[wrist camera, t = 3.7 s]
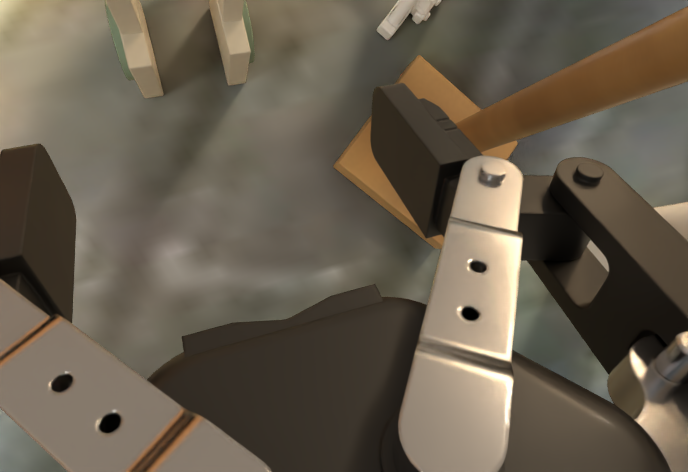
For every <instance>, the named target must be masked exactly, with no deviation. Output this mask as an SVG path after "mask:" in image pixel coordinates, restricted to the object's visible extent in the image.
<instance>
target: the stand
mask: <svg viewBox="0 0 688 472" xmlns="http://www.w3.org/2000/svg"><path fill="white" fill-rule="evenodd" d="M687 81H688V6H687V7H685V8H683V9H681V10H679V11H677V12H675V13H673V14H671V15H669V16H667V17H665V18H663V19H661V20H659V21H657V22H655V23H653V24H651V25H649V26H647V27H645V28H643V29H642V30H640V31H638V32H636V33H634V34H632V35H630V36H628V37H626V38H624V39H622V40H620V41H618V42H616V43H614V44H612V45H610V46H608V47H606V48H604V49H602V50H600V51H598V52H596V53H594V54H592V55H590V56H588V57H586V58H584V59H582V60H580V61H578V62H576V63H574V64H572V65H570V66H568V67H566V68H564V69H562V70H560V71H558V72H556V73H554V74H552V75H550V76H548V77H546V78H544V79H542V80H540V81H538V82H536V83H534V84H532V85H531V86H529V87H527V88H525V89H523V90H521V91H519V92H517V93H515V94H513V95H511V96H509V97H507V98H505V99H503V100H501V101H499V102H497V103H495V104H493V105H491V106H489V107H487V108H485V109H483V110H481V109H480V108H479V107H477V106H476V105H475V104H474V103H473V102H472V101H471V100H470V99H468V98H467V97H466V96H465V95H464V94H463V93H462V92H461V91H460V90H458V89H457V88H456V87H455V86H454V85H453V84H452V83H451V82H449V81H448V80H447V79H446V78H445V77H444V76H443V75H442V74H440V73H439V72H438V71H437V70H436V69H435V68H434V67H433V66H431V65H430V64H429V63H428V62H427V61H426V60H425V59H424V58H423V57H421V56H420V55H418V56H417V57H416V58H415V59H414V60H413V61H412V62H411V63H410V64H409V65H408V67H407V68H406V69H405V71H404V72H403V73H402V75H401V76H400V77H399V79H398V80H397V81H396V83H395V84H398V83H404V84H406V86H407V87H408V88H409V89H410V90H411V91H412V92H413V94H414V95H415V96H416V97H417V98H418V99H421V98H425V99H426V100H428V101H430V102H432V103H434V104H436V105H437V106H439V107H440V108H441V109H442V110H443V111H444V112H445V113H446V114H447V115H448V117H449V119H450V120H452V121H453V122H454V123H455V124H456V125H457V128H458V129H460V130H461V131H462V132H463V133H464V134H465V136H466V137H467V138H468V139H469V140H470V141H471V142H472V143H473V144H474V146H475V147H476V148H477V149H478V150H479V151H480V152H481V153H482V154H483V156H495V157H499V158H502V159H505V160H507V159H508V157H509V156H510V154H511V153H512V151H513V150H514V148H515V147H516V145H517V144H518V142H517V141H516V140H518V139H521V138H524V137H527V136H530V135H533V134H536V133H539V132H542V131H545V130H548V129H550V128H553V127H556V126H559V125H562V124H565V123H568V122H571V121H574V120H577V119H580V118H583V117H585V116H588V115H591V114H594V113H597V112H600V111H603V110H606V109H609V108H612V107H615V106H617V105H620V104H623V103H626V102H629V101H632V100H635V99H638V98H641V97H644V96H647V95H650V94H652V93H655V92H658V91H661V90H664V89H667V88H670V87H673V86H676V85H679V84H682V83H684V82H687ZM371 117H372V115H371V116H370V117H369V119H368V120H367V121H366V123H365V124H364V125H363V127H362V128H361V129H360V131H359V132H358V133H357V135H356V136H355V137H354V139H353V140H352V141H351V143H350V144H349V145H348V147H347V148H346V149H345V151H344V152H343V153H342V155H341V156H340V157H339V159H338V160H337V161H336V163H335V164H334V165H333V167H334V168H335V169H336V170H338V171H339V172H340V173H341V174H343V175H344V176H345V177H346V178H348V179H349V180H350V181H351V182H353V183H354V184H355V185H356V186H358V187H359V188H360V189H361V190H363V191H364V192H365V193H366V194H368V195H369V196H370V197H371V198H373V199H374V200H375V201H376V202H378V203H379V204H380V205H381V206H383V207H384V208H385V209H386V210H388V211H389V212H390V213H391V214H393V215H394V216H395V217H396V218H398V219H399V220H400V221H401V222H403V223H404V224H405V225H406V226H408V227H409V228H410V229H411V230H413V231H414V232H415V233H416V234H418V235H419V236H420V237H421V238H423V239H424V240H425V241H426V242H428V243H429V244H430V245H431V246H433V247H434V248H436V249H441V248H442V244H443V240H444V237H443V236H442V235H438V236H434V237H430V238H427V239H426V238H425V236H424V235H423V233H422V232H421V230H420V228H419V227H418V225H417V224H416V222H415V221H414V219H413V218H412V216H411V214H410V213H409V211H408V210H407V208H406V207H405V205H404V204H403V202H402V200H401V199H400V197H399V196H398V194H397V193H396V191H395V190H394V188H393V186H392V185H391V183H390V182H389V180H388V179H387V177H386V175H385V174H384V172H383V171H382V169H381V168H380V166H379V165H378V163H377V161H376V160H375V158H374V156H373V153H372V149H371V142H370V133H371Z"/></svg>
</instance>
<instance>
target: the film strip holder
mask: <svg viewBox="0 0 688 472" xmlns="http://www.w3.org/2000/svg"><path fill="white" fill-rule="evenodd" d="M440 2H441V0H399V1H398V2H397V3H396V4H395V6H394V7H393V8H392V10H391V11H390V12H389V14H388V15H387V16H386V17H385V19H384V20H383V21H382V23H381V24H380V25H379V27H378V28H377V32H378V33H379V34H381V35H382V36H383V37H384V38H385V39H386V40H389V39H390V38H391V37H392V36H393V34H394V33H395V32H396V30H397V29H398V28H399V26H400V25H401V24H402V23H403V21H404V20H405V19H406V17H407V16H408V15H409V13H411V14H412V15H413V17H412V20H413V21H414V22H415V23H416V24H419V23H420V22H421V21H422V20H424V21H426V20H427V19H428V18H429V16H430V14H431V13H429V11H430V10H431V8H432V7H433V6H434V5H435V6H438V4H439V3H440ZM391 12H392V13H391ZM390 14H391V15H390ZM399 23H400V24H399Z"/></svg>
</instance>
